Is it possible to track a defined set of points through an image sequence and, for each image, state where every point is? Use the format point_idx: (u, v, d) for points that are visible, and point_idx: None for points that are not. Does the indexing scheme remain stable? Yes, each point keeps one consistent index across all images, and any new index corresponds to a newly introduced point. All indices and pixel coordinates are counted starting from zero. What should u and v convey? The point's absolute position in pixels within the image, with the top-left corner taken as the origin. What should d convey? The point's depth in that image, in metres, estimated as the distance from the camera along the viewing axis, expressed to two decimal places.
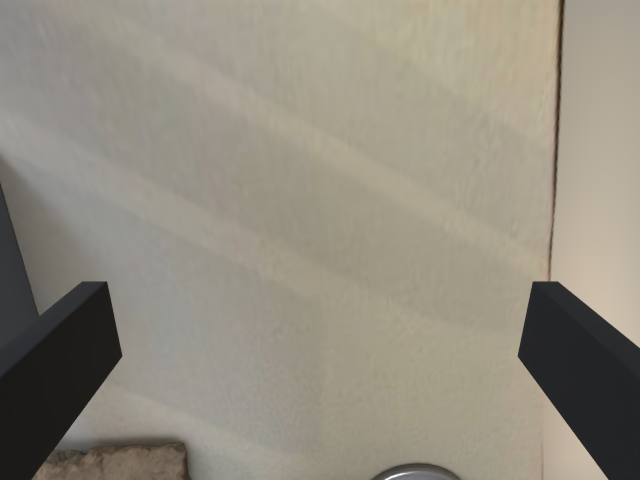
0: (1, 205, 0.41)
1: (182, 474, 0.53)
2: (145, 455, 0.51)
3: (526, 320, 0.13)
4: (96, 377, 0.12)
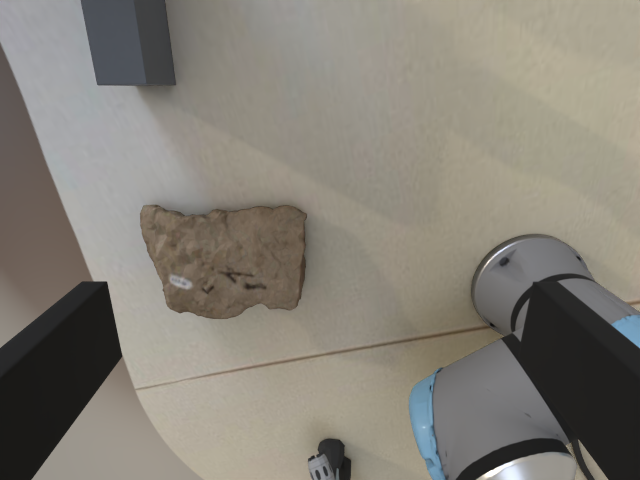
0: None
1: (302, 238, 0.53)
2: (268, 213, 0.51)
3: (526, 320, 0.13)
4: (96, 377, 0.12)
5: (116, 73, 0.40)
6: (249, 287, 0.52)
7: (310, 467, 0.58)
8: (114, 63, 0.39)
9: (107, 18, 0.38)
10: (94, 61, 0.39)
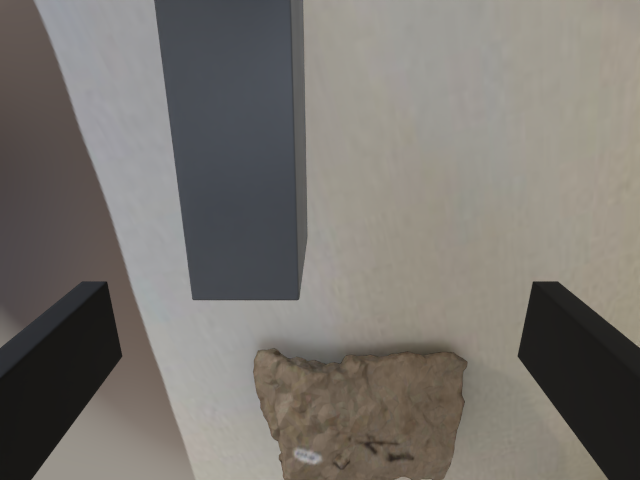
0: None
1: (460, 392, 0.40)
2: (420, 363, 0.39)
3: (526, 320, 0.13)
4: (96, 377, 0.12)
5: (235, 280, 0.18)
6: (393, 458, 0.39)
7: None
8: (233, 261, 0.18)
9: (229, 175, 0.17)
10: (191, 257, 0.18)
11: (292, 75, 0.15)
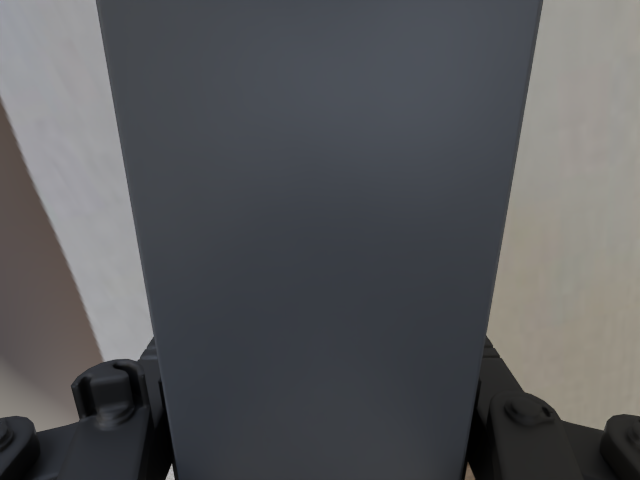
0: None
1: None
2: None
3: None
4: None
5: None
6: None
7: None
8: None
9: (303, 434, 0.07)
10: None
11: (504, 210, 0.05)
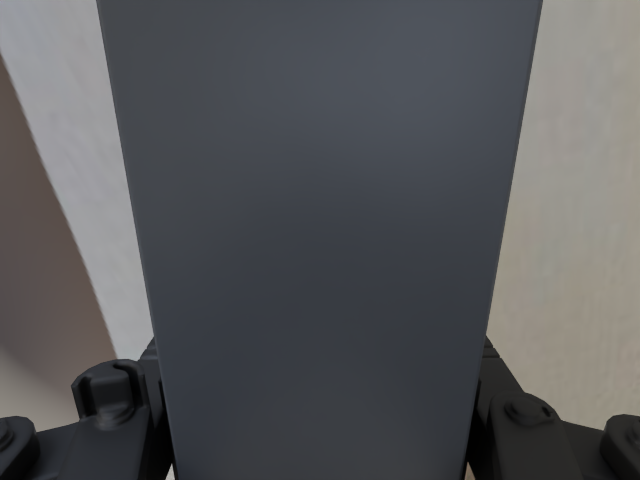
0: None
1: None
2: None
3: None
4: None
5: None
6: None
7: None
8: None
9: (303, 433, 0.07)
10: None
11: (504, 210, 0.05)
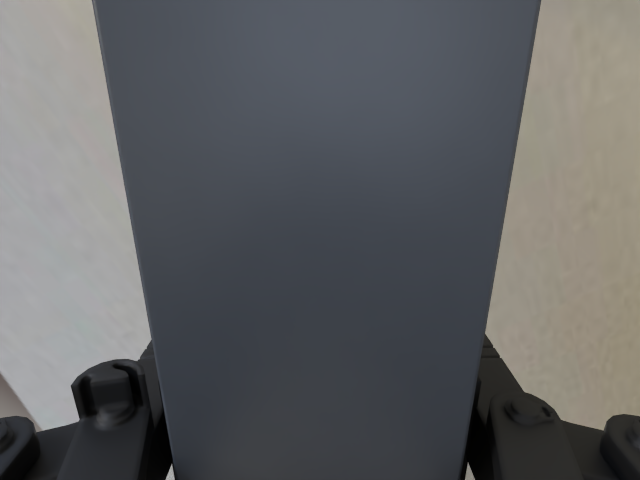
0: None
1: None
2: None
3: None
4: None
5: None
6: None
7: None
8: None
9: (301, 434, 0.07)
10: None
11: (503, 210, 0.05)
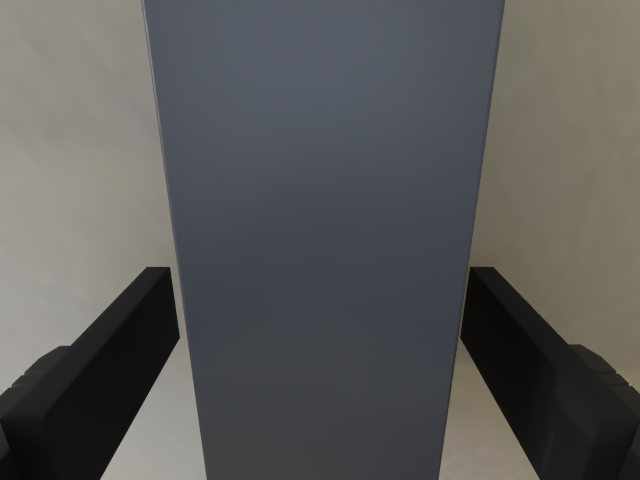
0: None
1: None
2: None
3: (466, 303, 0.14)
4: (163, 354, 0.13)
5: None
6: None
7: None
8: None
9: (308, 388, 0.08)
10: None
11: (476, 192, 0.06)
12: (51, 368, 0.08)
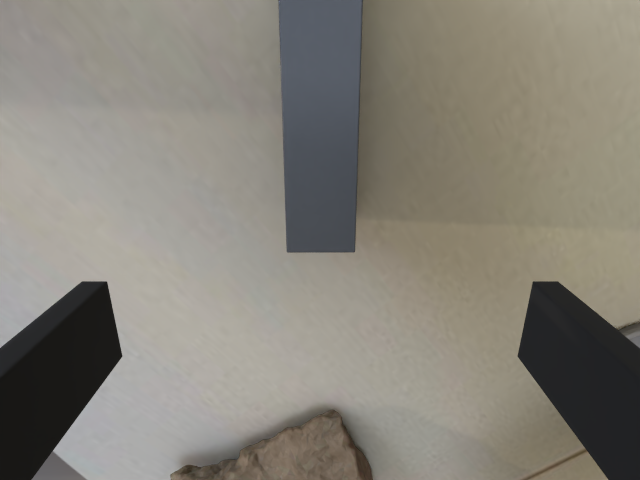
0: None
1: (348, 442, 0.44)
2: (298, 435, 0.44)
3: (526, 321, 0.13)
4: (96, 377, 0.12)
5: (315, 239, 0.29)
6: None
7: None
8: (315, 226, 0.29)
9: (316, 172, 0.27)
10: (288, 224, 0.29)
11: (358, 114, 0.26)
12: None
